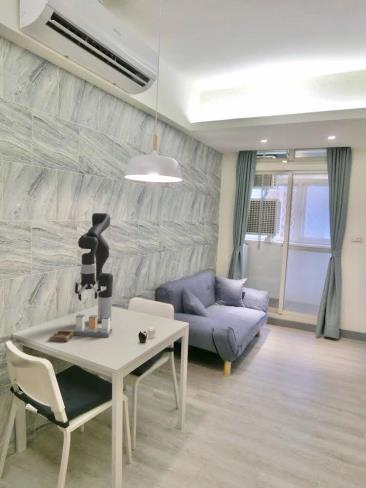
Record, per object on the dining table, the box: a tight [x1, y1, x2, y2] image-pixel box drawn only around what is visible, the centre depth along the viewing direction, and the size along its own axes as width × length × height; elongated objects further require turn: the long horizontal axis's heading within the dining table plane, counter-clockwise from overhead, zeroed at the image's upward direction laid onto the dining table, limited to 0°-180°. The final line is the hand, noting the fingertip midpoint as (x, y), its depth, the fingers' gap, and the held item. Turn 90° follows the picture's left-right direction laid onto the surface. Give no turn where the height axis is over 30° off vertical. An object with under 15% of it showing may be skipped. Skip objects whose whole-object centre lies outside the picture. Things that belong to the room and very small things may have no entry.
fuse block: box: [73, 313, 113, 338], centre depth 198 cm, size 9×22×11 cm, turn 88°
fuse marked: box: [88, 314, 98, 331], centre depth 198 cm, size 4×4×9 cm
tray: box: [49, 330, 75, 343], centre depth 189 cm, size 10×10×2 cm
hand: (87, 299), depth 184 cm, fingers open, 8 cm apart
